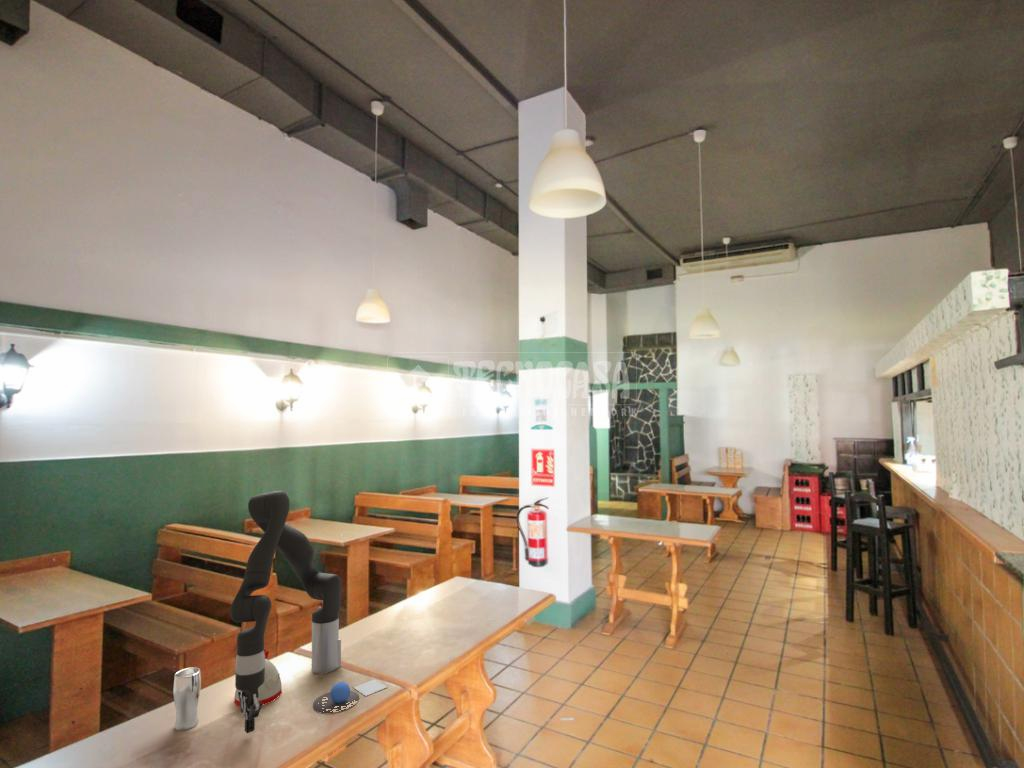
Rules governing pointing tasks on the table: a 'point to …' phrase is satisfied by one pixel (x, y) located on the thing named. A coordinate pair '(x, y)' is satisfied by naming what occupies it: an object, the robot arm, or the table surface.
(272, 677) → the kitchen timer
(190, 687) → the beer glass
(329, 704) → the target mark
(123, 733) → the table surface
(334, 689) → the ball
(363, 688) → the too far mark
